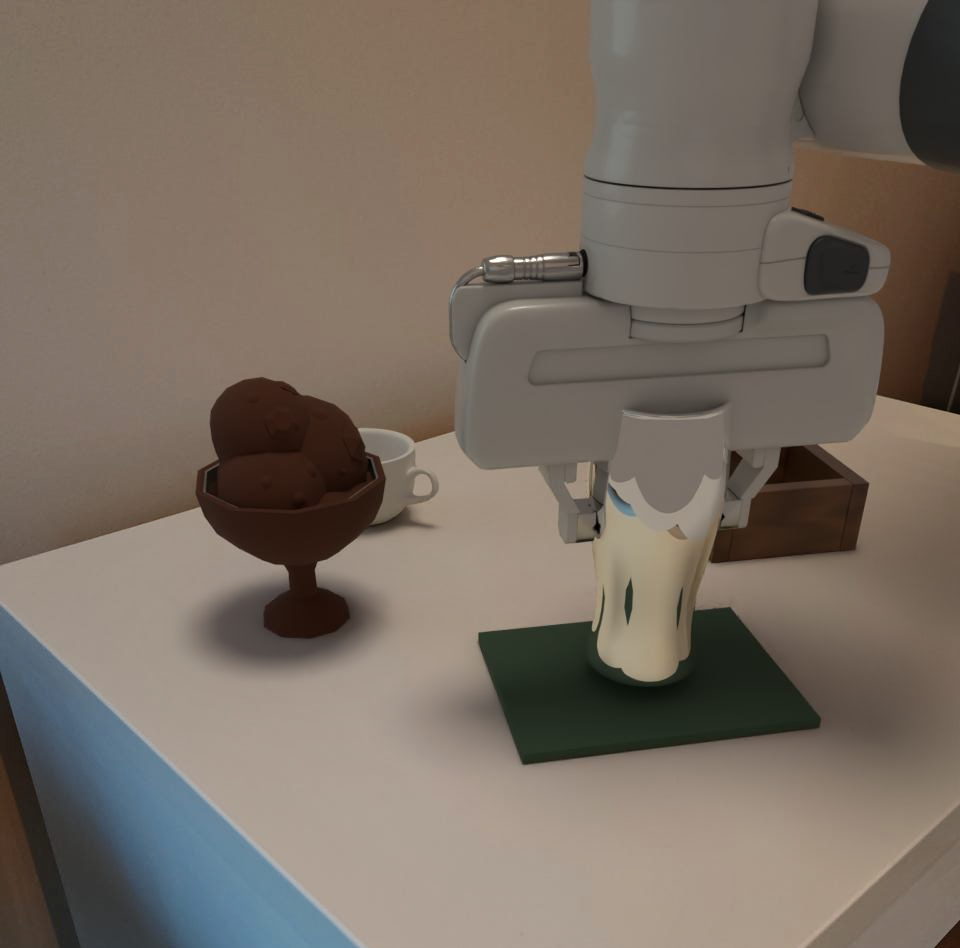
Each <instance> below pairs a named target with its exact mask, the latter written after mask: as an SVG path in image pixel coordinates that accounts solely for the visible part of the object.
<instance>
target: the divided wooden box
mask: <svg viewBox="0 0 960 948" xmlns="http://www.w3.org/2000/svg"><path fill="white" fill-rule="evenodd" d="M742 459H743V458H742V457H741V456H740V455H739V454H738V453H737V452H736V451H731V460H730V471H729V479H730V478H731V476H732V474H733V473H734V471H735V470H736V468H737V467H738V465H739V463H740V462H741V460H742ZM869 487H870V482H869V481H867V479H865V478H863V477H862V476H861V475H859V473H857V472H855V470H853V469H852V468H850V467H848V465H846V464H845V463H843V462H842V461H840V460H839V459H838V458H837V457H835V456H834V455H833V454H831V453H830V452H829V451H827V450H826V449H825V448H823V447H822V446H820V444H815V445H802V446H789V447H781V450H780V456H779V462H778V467H777V468H776V470H775V471H774V472H773V474H772V475H771V476H770V478H769V479H768V480H767V481H766V483H765V484H764V485H763V487H762V488H761V489H760V491H759V492H758V493H757V495H756V496H755V497H754V498H751V504H750V510H749V517H748V523H747V526H746V527H744V528H735V529H724V530H718V532H717V535H716V538H715V541H714V544H713V547H712V550H711V554H710V557H709V559H708V560H709V561H710V562H711V563H721V562H729V561H730V562H732V561H740V560H741V561H742V560H752V559H764V558H774V557H784V556H785V557H786V556H796V555H805V554H816V553H825V552H826V553H827V552H837V551H850V550H851V551H852V550H856V547H857V543H858V539H859V534H860V530H861V524H862V521H863V516H864V510H865V507H866V501H867V497H868V492H869V489H870V488H869Z"/></svg>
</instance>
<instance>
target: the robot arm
mask: <svg viewBox="0 0 960 948" xmlns="http://www.w3.org/2000/svg"><path fill="white" fill-rule="evenodd" d="M589 13H590V14H589V36H588V63H589V65H588V66H589V70H590V74H591V79H592V84H593V89H594V102H595V109H594V111H595V113H594V122H593V123H594V124H593V129H592V134H591V138H590V141H589V145H588V148H587V151H586V154H585V157H584V160H583V161H584V162H583V168H582V169H583V170H582V174H583V175H582V192H581V213H580V214H581V215H580V239H579V250H578V251H564V252H548V253H541V254H540V253H539V254H535V255H529V256H513V255H512V254H511V255H510V254H497V255H492V256H488V257H487V256H486V257H485V258H482V260H481V263H480V265H479V266H475V267H473V268H471V269H469V270H467V271H466V272H465V273H464V274H461V276H460V277H459V278H458V279H457V280H456V282H455V283H454V286H452V288H451V292H450V295H449V299H448V335H449V340H450V343H451V346H452V348H453V350H454V351H455V353H456V355H457V356H459V357H458V358H459V359H458V366H457V374H456V382H455V383H456V384H455V395H454V411H453V412H454V413H453V414H454V416H453V420H454V421H453V424H454V435H455V439H456V441H457V443H458V446H459V448H460V449H461V451H462V453H463V454H464V455H465V456H466V458H468V460H470V462H471V463H472V464H474V465H475V466H476V467H477V468H478V469H480V470H483V471H495V470H506V469H519V468H532V467H537V470H538V472H539V473H540V475H541V477H542V478H543V480H544V483H546V485H547V487H548V489H549V490H550V492H551V494H552V495H553V497H554V499H555V500H556V502H557V503H558V517H557V529H558V534H559V536H560V538H561V539H562V542H563V543H564V544H565V545H571V544H580V543H589V542H590V543H591V541H594V539H595V532H594V530H593V527H594V526H595V525H596V511H595V510H593V509H592V508H591V507H590V506H589V504H588V502H587V497H586V498H585V497H584V498H573V496H572V494H571V493H570V491H569V489H568V488H567V486H566V485H565V483H566V484H574V483H575V482H576V481H577V475H578V474H577V472H578V464H583V463H588V462H597V461H610V460H612V459H613V458H614V455H615V452H616V449H617V446H618V440H619V433H620V426H621V418H622V409H631V410H636V411H641V412H648V413H658V414H688V413H697V412H703V411H708V410H711V409H714V408H717V407H719V406H721V405H723V404H724V403H725V402H727V401H733V405H732V416H731V451H736V452H737V453H738V454H739V455H740V456H741V457H742V458H743V459H742V460H741V462H740V463H739V465H738V467H737V468H736V470H735V471H734V473H733V474H732V476H731V478H730V479H729V481H728V487H727V493H726V499H725V505H724V509H723V513H722V517H721V521H720V524H719V528H718V530H724V529H735V528H744V527H746V526H747V523H748V517H749V510H750V504H751V498H754V497H755V496H756V495H757V493H758V492H759V491H760V489H761V488H762V487H763V485H764V484H765V483H766V481H767V480H768V479H769V478H770V476H771V475H772V474H773V472H774V471H775V470H776V468H777V467H778V462H779V456H780V450H781V447H789V446H802V445H815V444H818V445H827V444H839V443H840V444H842V443H849V442H851V441H853V439H855V438H856V437H857V436H858V434H860V432H861V431H862V430H863V429H864V428H865V427H866V426H867V425H868V423H869V422H870V420H871V418H872V416H873V413H874V407H875V404H876V399H877V394H878V389H879V384H880V377H881V370H882V362H883V354H884V344H885V343H884V342H885V321H884V316H883V312H882V310H881V308H880V306H879V304H878V303H877V302H876V301H875V300H874V299H873V298H872V297H870V296H871V295H874V294H876V293H878V292H879V291H880V290H882V288H883V287H884V285H885V283H886V281H887V278H888V275H889V272H890V266H891V257H892V256H891V251H890V249H889V248H888V247H887V246H886V245H885V244H883V243H881V242H879V241H877V240H876V239H873V238H871V237H869V236H867V235H864V234H862V233H859V232H857V231H855V230H852V229H849V228H847V227H844V226H841V225H838V224H836V223H832V222H830V221H829V222H828V221H826V220H825V217H824V216H822V215H819V214H816V213H815V212H813V211H810V210H807V209H804V208H798V207H795V206H792V205H791V204H790V203H791V197H792V190H793V189H792V188H793V183H794V182H793V181H794V176H795V154H794V149H798V150H804V151H814V152H823V153H832V154H834V155H837V156H841V157H847V158H855V159H864V160H865V159H866V160H873V161H883V162H892V163H899V164H909V165H918V166H926V167H927V166H928V167H929V168H931V169H934V170H936V171H941V172H945V173H949V174H954V175H958V176H960V0H590V12H589ZM479 277H481V279H482V281H481V282H479V281H478V282H472V281H473V280H474V279H475V280H476V278H479Z"/></svg>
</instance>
